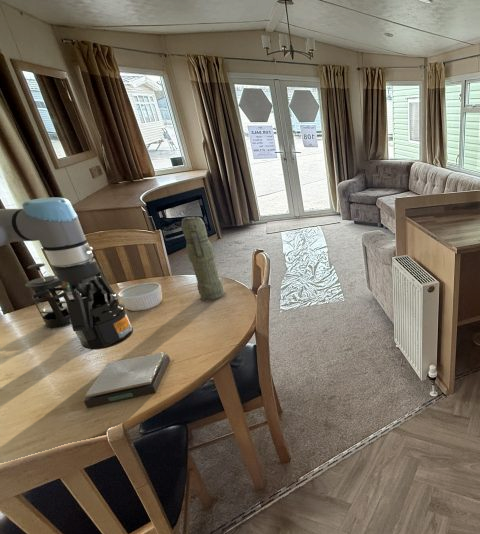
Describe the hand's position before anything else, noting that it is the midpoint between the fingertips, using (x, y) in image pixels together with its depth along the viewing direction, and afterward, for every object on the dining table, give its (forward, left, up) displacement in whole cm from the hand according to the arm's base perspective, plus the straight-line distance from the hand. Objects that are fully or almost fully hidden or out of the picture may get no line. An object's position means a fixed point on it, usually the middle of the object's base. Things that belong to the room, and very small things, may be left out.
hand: (107, 335), depth 92 cm
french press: (-33, +48, -17) cm, 60 cm away
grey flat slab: (+1, 0, -14) cm, 14 cm away
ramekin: (-10, +52, -17) cm, 55 cm away
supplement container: (0, 0, -2) cm, 2 cm away
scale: (+1, 0, -17) cm, 17 cm away
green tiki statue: (+14, +51, -17) cm, 55 cm away
